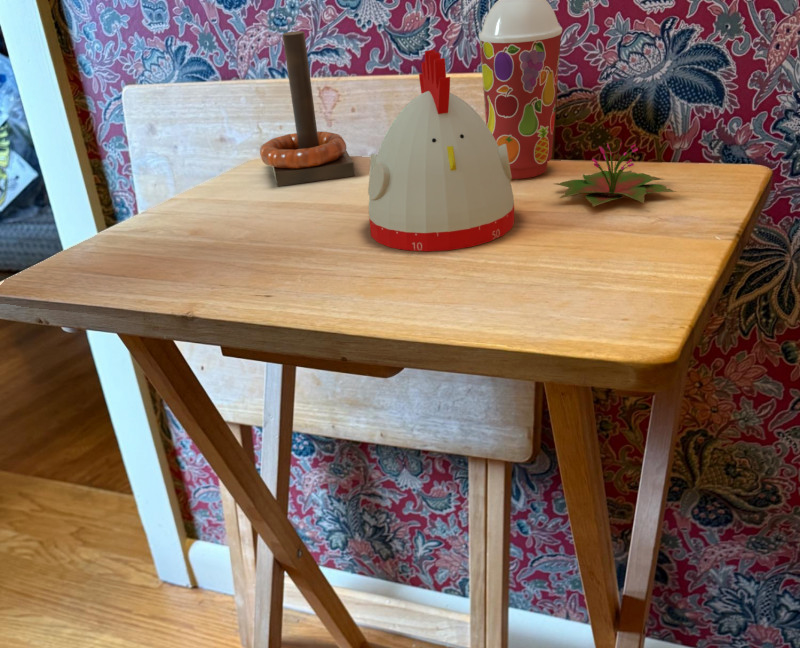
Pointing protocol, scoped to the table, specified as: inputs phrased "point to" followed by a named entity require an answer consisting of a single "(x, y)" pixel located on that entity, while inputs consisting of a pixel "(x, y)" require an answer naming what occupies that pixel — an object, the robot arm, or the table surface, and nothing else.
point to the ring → (302, 151)
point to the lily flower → (613, 182)
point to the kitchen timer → (439, 173)
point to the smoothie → (521, 81)
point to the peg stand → (306, 118)
